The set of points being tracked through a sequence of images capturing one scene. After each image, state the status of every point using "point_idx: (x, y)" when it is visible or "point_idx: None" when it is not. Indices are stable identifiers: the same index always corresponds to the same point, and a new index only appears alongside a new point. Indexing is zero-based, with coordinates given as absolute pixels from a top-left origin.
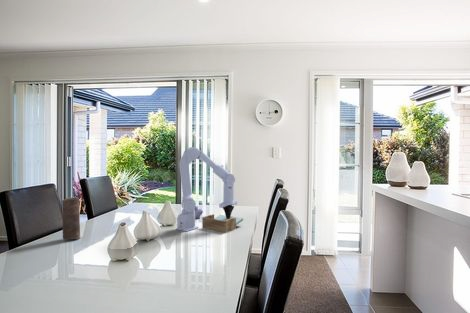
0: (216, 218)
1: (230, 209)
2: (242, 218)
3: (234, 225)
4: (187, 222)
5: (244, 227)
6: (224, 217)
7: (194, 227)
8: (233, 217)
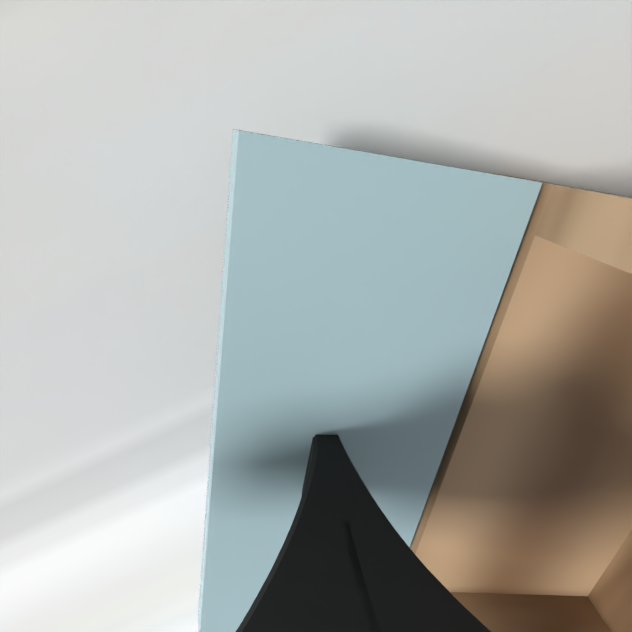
0: None
1: (445, 629)
2: (268, 140)
3: (582, 189)
4: None
5: (355, 49)
6: None
7: None
8: (255, 399)
